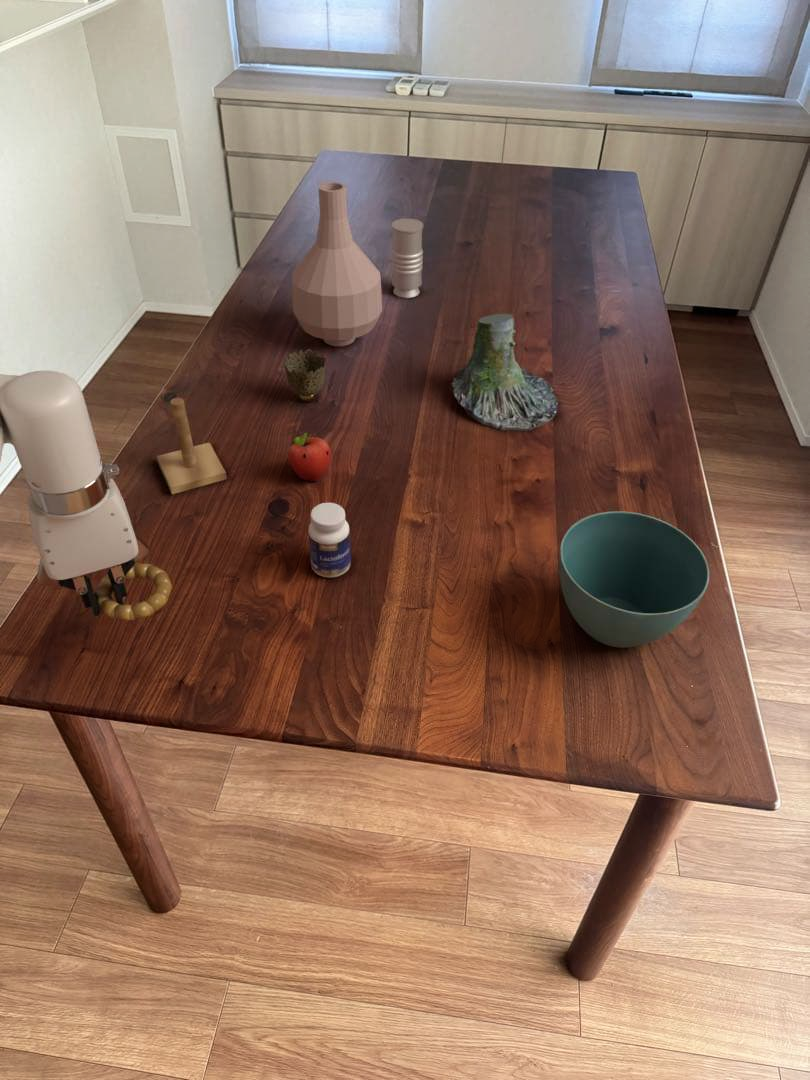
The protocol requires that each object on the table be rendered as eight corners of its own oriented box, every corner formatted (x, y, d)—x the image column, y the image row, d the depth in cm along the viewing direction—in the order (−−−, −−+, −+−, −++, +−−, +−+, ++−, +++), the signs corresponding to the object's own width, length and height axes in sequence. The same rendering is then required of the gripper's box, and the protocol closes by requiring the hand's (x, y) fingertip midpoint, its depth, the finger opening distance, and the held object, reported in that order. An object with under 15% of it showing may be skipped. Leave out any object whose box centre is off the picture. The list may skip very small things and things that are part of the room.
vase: (313, 312, 170) (303, 165, 149) (392, 324, 167) (393, 175, 146) (282, 352, 158) (267, 198, 137) (367, 366, 154) (364, 210, 134)
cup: (336, 398, 146) (334, 359, 140) (306, 414, 142) (302, 375, 136) (309, 383, 150) (306, 344, 144) (279, 398, 146) (274, 359, 140)
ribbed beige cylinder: (420, 284, 181) (422, 218, 170) (422, 298, 176) (424, 231, 165) (390, 284, 180) (390, 218, 170) (391, 298, 175) (391, 231, 165)
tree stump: (499, 447, 136) (488, 347, 127) (434, 416, 151) (420, 325, 142) (579, 410, 143) (574, 313, 133) (510, 384, 158) (501, 295, 149)
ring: (105, 632, 93) (102, 622, 92) (91, 583, 99) (87, 573, 97) (180, 609, 96) (177, 598, 95) (162, 562, 102) (159, 552, 100)
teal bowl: (664, 574, 114) (686, 510, 105) (701, 677, 100) (729, 613, 92) (538, 575, 113) (550, 510, 105) (558, 679, 100) (574, 614, 91)
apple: (287, 466, 131) (281, 415, 124) (328, 460, 132) (325, 410, 125) (294, 495, 125) (289, 444, 119) (336, 489, 127) (334, 437, 120)
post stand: (171, 494, 125) (154, 423, 116) (157, 463, 131) (140, 393, 122) (227, 479, 128) (214, 408, 119) (210, 449, 134) (197, 379, 125)
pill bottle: (322, 584, 111) (318, 532, 104) (304, 560, 115) (299, 508, 108) (358, 569, 114) (356, 517, 107) (339, 546, 117) (336, 494, 110)
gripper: (137, 448, 89) (165, 565, 101) (-17, 484, 83) (33, 603, 96) (154, 486, 84) (181, 604, 96) (-9, 528, 78) (42, 647, 91)
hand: (107, 603), depth 96 cm, fingers closed on ring, 2 cm apart
